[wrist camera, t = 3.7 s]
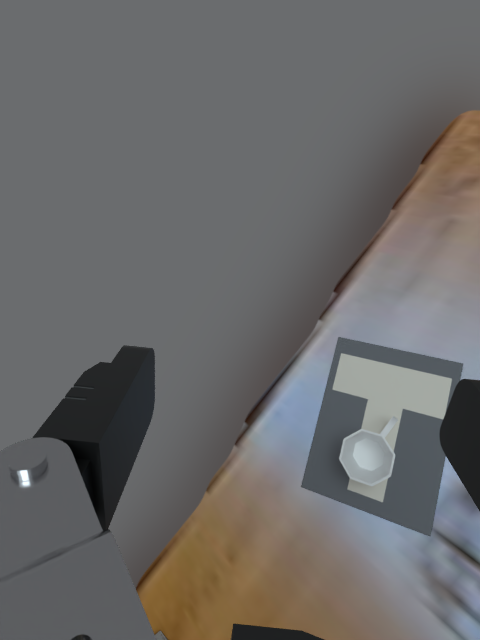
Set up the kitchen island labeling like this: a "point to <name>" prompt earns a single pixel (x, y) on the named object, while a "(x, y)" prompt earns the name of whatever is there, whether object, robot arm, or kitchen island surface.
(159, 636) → the supplement box
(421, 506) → the t mat
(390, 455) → the cup
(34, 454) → the robot arm
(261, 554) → the kitchen island surface
